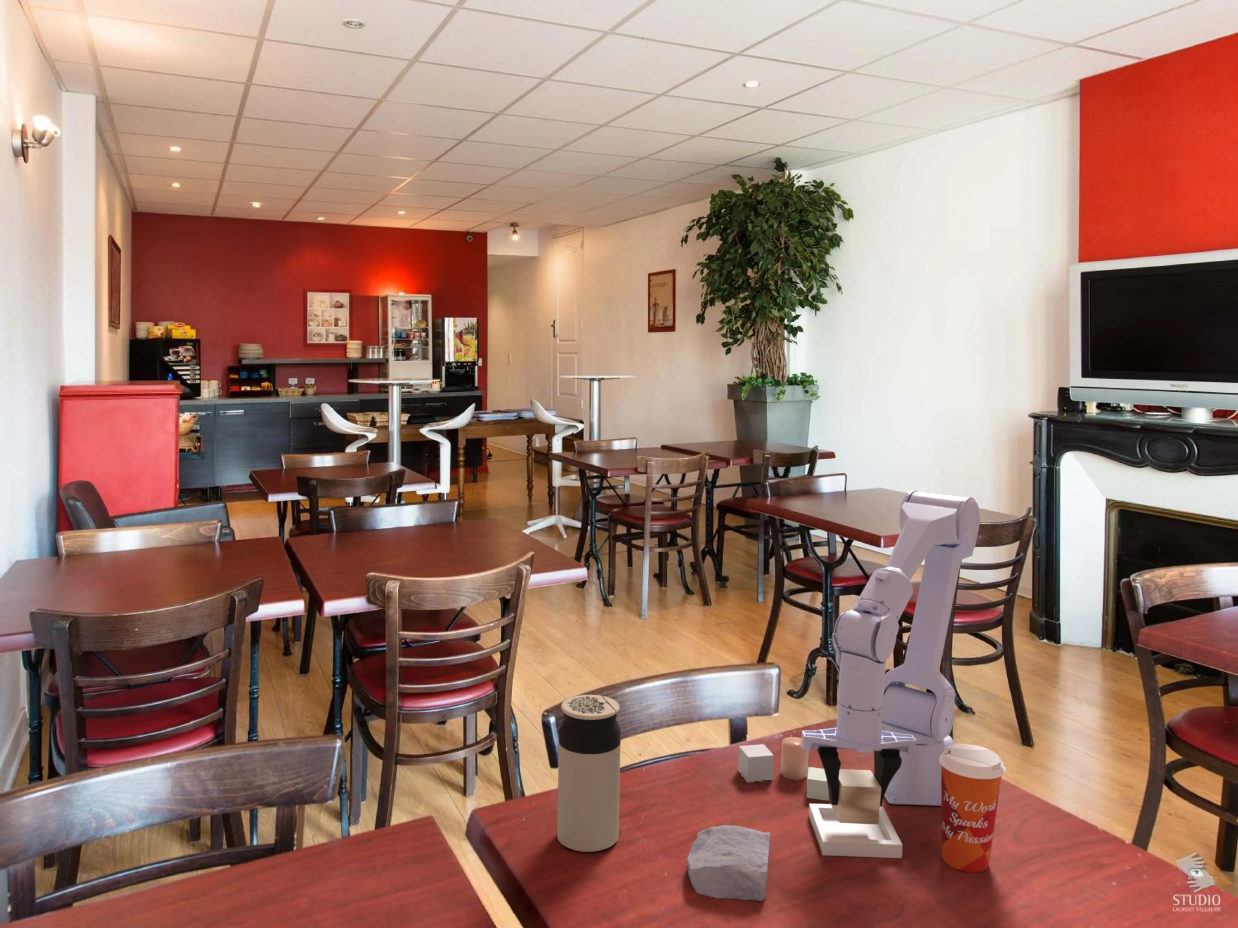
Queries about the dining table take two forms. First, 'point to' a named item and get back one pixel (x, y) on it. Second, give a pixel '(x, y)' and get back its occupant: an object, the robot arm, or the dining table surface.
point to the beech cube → (857, 797)
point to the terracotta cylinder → (793, 759)
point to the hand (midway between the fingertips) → (854, 802)
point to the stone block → (730, 863)
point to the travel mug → (589, 773)
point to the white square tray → (854, 835)
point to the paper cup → (968, 805)
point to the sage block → (817, 784)
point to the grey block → (755, 763)
